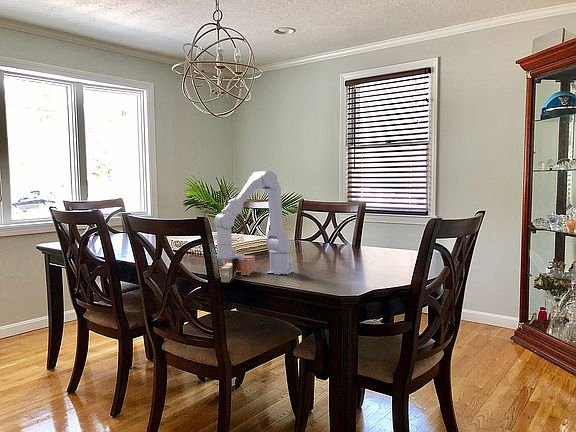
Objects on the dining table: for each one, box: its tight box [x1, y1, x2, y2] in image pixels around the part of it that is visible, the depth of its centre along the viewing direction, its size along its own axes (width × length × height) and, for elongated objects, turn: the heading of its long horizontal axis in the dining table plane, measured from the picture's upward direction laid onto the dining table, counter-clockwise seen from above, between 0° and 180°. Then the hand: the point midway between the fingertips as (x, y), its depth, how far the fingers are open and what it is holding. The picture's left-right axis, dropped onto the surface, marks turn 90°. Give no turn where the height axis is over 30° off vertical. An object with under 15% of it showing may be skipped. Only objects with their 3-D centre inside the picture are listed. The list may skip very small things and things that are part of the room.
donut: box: [220, 246, 238, 266], centre depth 220 cm, size 10×3×10 cm, turn 46°
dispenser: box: [225, 255, 256, 275], centre depth 207 cm, size 10×10×7 cm
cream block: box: [220, 263, 236, 283], centre depth 196 cm, size 12×3×6 cm, turn 174°
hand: (225, 278), depth 191 cm, fingers open, 5 cm apart
